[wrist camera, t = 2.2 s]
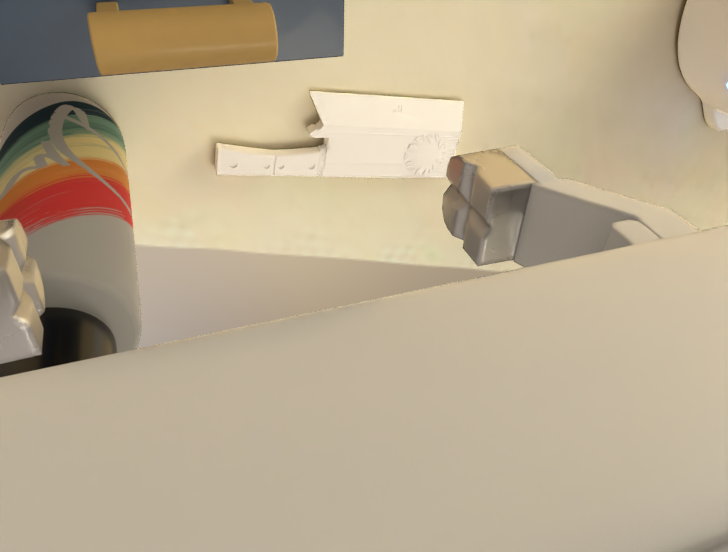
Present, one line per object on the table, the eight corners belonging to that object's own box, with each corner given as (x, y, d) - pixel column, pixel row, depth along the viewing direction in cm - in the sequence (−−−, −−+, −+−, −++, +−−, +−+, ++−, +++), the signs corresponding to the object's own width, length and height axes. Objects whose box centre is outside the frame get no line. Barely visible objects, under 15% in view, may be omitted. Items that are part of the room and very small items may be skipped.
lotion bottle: (124, 94, 31) (155, 377, 17) (125, 191, 34) (151, 499, 20) (-4, 84, 29) (-98, 399, 14) (9, 188, 32) (-56, 533, 18)
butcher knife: (219, 83, 32) (222, 90, 32) (462, 100, 38) (470, 107, 37) (214, 169, 35) (217, 178, 34) (441, 174, 41) (448, 181, 40)
